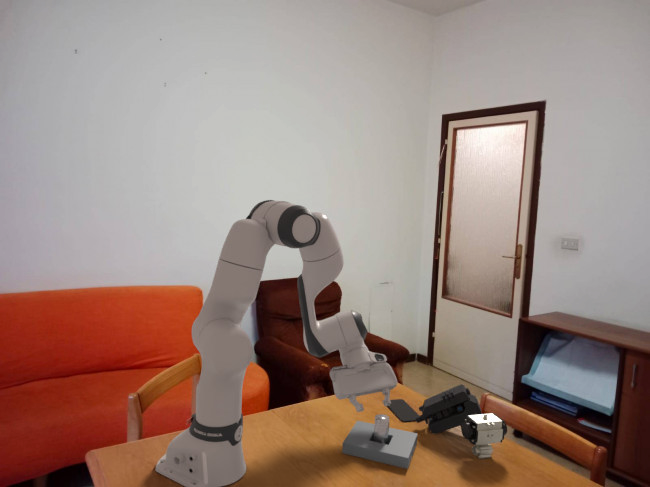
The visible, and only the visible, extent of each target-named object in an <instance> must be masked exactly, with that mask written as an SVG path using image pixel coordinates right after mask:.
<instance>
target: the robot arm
mask: <svg viewBox="0 0 650 487" xmlns="http://www.w3.org/2000/svg"><path fill="white" fill-rule="evenodd" d="M274 245H276V246H281V247H287V248H289V249H298V250H299V253H300V257H301V259H302V272H301V274H300V275H299V276H298V277H297V282H296V283H297V284H296V285H297V292H298V293H297V294H298V302H299V307H300V308H299V309H300V315H301V321H302V327H303V328H302V330H303V334H302V335H303V337H302V338H303V343H304V346H305V349H306V350H307V352H308V354H310V355H311V356H314V357H317V358H323V357H325V356H327V355H329V354H331V353H332V352H335V351H339V354H340V355H339V356H340V357H339V358H340V361H341V363H342V365H340V366H334V367H332V368H331V369H330V371H329V377H330V379H331V381H332V386H333V387H332V388H333V392H334V395H335V397H336V398H337V399H338V400H346V399H348V400H349V403H350V404H352V406H353V407H355V410H356V412H357V413H360V412H361V413H362V412H363V411H364V410H365V408H364V405H363V403H361V402H359V401H358V400H357V397H361V396H366V395H370V394H376V393H382V395H383V396H384V399H383V400H382V403H383V406H384V407H387V406H389V405H390V404H391V401H390V400H391V399H390V396H391V390H393V389H395V388H396V387H397V386H398V379H397V376H396V374H395V371H394V369H393V367H392V366H391V365H390V364H389V363H388V362H387V361H388V357H387V356H386V355H385V354H383V353H379V352H373V351H370V350H369V348H368V346H367V345H366V343H365V340H366V337H367V334H368V333H369V332H368V329H367V327H366V325H365V323H364V321H363V316H362V314H361V313H359V312H357V311H355V310H352V309H351V310H346V311H339V312H337V313H335V314H334V315H332V316H329V317H326V318H324V319H320V320H317V317H316V310H315V309H316V308H315V300H316V298H317V296H318V295H319V294H320V293H321V292H322V291H323V290H324V289H325V288H326V287H328V286H329V285H331V283H333V282H334V281H335V280H336V279H337V278H338V277H339V276H340V274H341V273H342V270H343V268H344V264H345V262H344V256H343V251H342V248H341V244H340V241H339V238H338V236H337V233H336V230H335V229H334V226H333V225H332V223H331V221H330V219H329V218H328V216H327V215H325V214H324V213H322V212H315V211H311V210H310V209H309V208H307V207H306V206H303V205H299V204H294V203H291V202H289V201H284V200H273V199H267V200H263V201H259V202H258V203H257V204H255V205H254V206H253V207H252V209H251V210H250V212H249V213H248V215H247V216H246V218H243V219H238V220H237V221H235V222H234V223H233V224H232V225H231V228H230V229H229V231H228V232H227V236H226V238H225V241H224V243H223V244H222V248H221V251H220V254H219V258H218V262H217V265H216V269H215V272H214V276H213V279H212V281H211V287H210V289H209V292H208V294H207V296H206V299H205V301H204V303H203V304H202V307H201V309H200V312H199V314H198V316H197V317H196V318H195V320H194V321H193V323H192V326H191V339H192V343H193V345H194V346H195V348H196V349H197V351H198V352H199V354H200V357H201V371H200V375H199V381H198V382H197V385H196V388H195V391H196V392H195V412H194V413H193V414H192V415H191V416H190V417H189V418H188V419H187V420H186V421H185V422H186V423H185V425H186V426H188V425H189V424H190V426H189V427H187V428H186V429H184V430H182V432H180V433H178V434H177V436H175V437H173V439H171V441H170V442H169V444H168V445H167V449H166V452H165V454H163V455H162V457H160V458H159V459H158V461H157V463H156V465H155V472H156V473H158V474H161V475H162V476H164V477H166V478H168V479H169V480H172V481H174V482H176V483H178V484H179V485H181V486H184V487H225V486H228V485H231V484H234V483H235V482H238V480H241V479H242V477H243V476H245V474H246V472H247V464H246V461H245V457H244V451H243V443H242V442H243V441H242V439H243V432H244V431H243V430H244V415H243V413H242V405H243V402H242V401H243V400H242V399H243V386H244V380H245V376H246V371H247V369H248V366H250V364H251V362H252V360H253V356H254V348H253V344H252V342H251V339H250V337H249V334H248V333H247V332H246V331H245V330H244V329H243V328H242V327H241V324H242V321H243V319H244V317H245V315H246V312H247V311H248V309H249V307H250V306H252V304H253V303H254V302H255V300H256V298H257V295H258V291H259V288H260V283H261V280H262V277H263V276H262V275H263V273H264V268H265V264H266V261H267V256H268V254H269V251H270V250H271V249H272V247H274Z"/></svg>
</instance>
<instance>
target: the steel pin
mask: <svg viewBox="0 0 650 487" xmlns="http://www.w3.org/2000/svg"><path fill="white" fill-rule="evenodd" d="M374 424H375V425H374V441H373V442H378V443H382V444H386V445H388V433H389V427H390V416H388V415H387V414H383V413H381V414H380V413H379V414H376V415H375V416H374Z"/></svg>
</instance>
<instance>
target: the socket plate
mask: <svg viewBox="0 0 650 487" xmlns="http://www.w3.org/2000/svg"><path fill="white" fill-rule="evenodd" d="M374 425H375V423H370V422H366V421H362V420H357V421H356V422H355V423H354V425H353V427H352V428H351V429H350V431H349V432H348V434H347V436H346V437H345V439H344V440H343V441H342V451H341V453H342V454H345V455H349V456H353V457H358V458H362V459H366V460H369V461H373V462H377V463H382V464H385V465H388V466H389V465H390V466H393V467H398V468H402V469H406V470H409V467H410V463H411V461H412V458H413V456H414V453H415V450H416V447H417V443H418V433H417V432H413V431H408V430H403V429H398V428H393V427H390V426H389V433H388V445H386V444H382V443H378V442H374Z"/></svg>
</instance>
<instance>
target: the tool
mask: <svg viewBox="0 0 650 487" xmlns="http://www.w3.org/2000/svg"><path fill="white" fill-rule="evenodd" d="M418 410H419V412H421V414H419V416H417V417H415V419H416V421H415V422H416V423H417V424H419V423H422V422H425V424H426V425H427V427H428V428H427V429H428V430H429V432H430V433H431V434H433V435H437V434H439V433H442V432H443V433H444V432H446V431H448V430H451V429H454V428H457V427H461V425H462V423H463V422H466V421H465V419H466V416H468V415H479V414H483V413H482V409H481V406H480V403H479V401H478V398H477V397H476V395H473V394H472V393H471V390H470V389H469V387H466V386H465V384H461V383H460V384H459V385H456V386H453V387H451V388H449V389H446V390H443V391H442V392H440V393H437V394H434V395H433V396H431V397H428V398H426V399H424V401H423V404H422V405H421V406H419V407H418Z"/></svg>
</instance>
